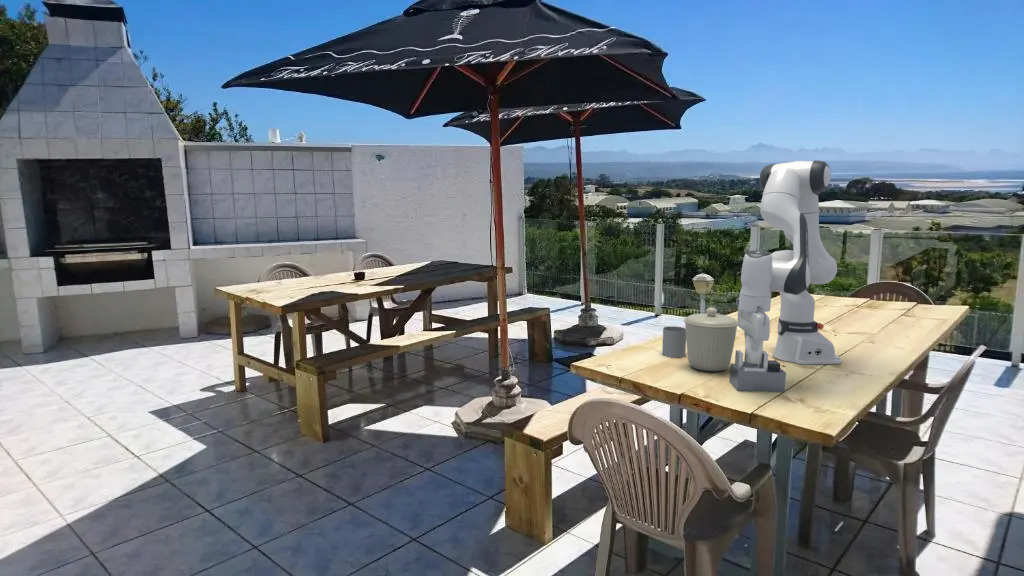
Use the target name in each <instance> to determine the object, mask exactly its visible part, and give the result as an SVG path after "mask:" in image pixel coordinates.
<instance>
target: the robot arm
mask: <svg viewBox="0 0 1024 576" xmlns="http://www.w3.org/2000/svg"><path fill="white" fill-rule="evenodd" d="M831 175H832V174H831V170H830V166H829V164H828V163H827V162H826V161H823V160H794V161H789V162H788V161H787V162H781V163H770V164H768V165H766V166H764V167H763V168H762V169H761V171H760V173H759V178H758V179H759V188H760V190H761V191H762V197H761V201H760V211H759V213H760V216H761V217H762V220H764V221H765V222H766V223H767V224H768V225H769V226H771V227H772V228H775V229H777V230H780V231H783V235H784V236H785V238H786V239H788V240H789V241H790V242H791V244H792V249H793V250H792V249H784V250H783V249H782V250H776V251H774V252H770V251H769V250H763V249H753V250H749V251H747V252H746V253H745V254H744V256H743V262H742V264H741V265H742V267H741V273H740V274H741V275H740V282H741V289H740V292H739V297H737V298H736V305H737V321H738V326H737V327H738V328H740V329H741V330H743V332H744V339H745V340H744V343H745V344H746V335H750V336H752V337H753V344H752V345H751V350H752V351H754V352H758V351H759V345H760V343H761V341H763V342H765V341H766V342H767V341H769V339H770V332H771V331H770V330H771V329H770V327H771V325H770V324H771V321H770V320H771V319H770V316H769V315H768V314H767V313H768V312H770V311H771V303H772V301H771V300H772V292H775V293H776V292H777V293H779V295H780V309H779V310H780V311H779V312H780V314H779V315H780V316H779V318H778V323H777V340H776V343H775V344H776V345H775V348H774V350H773V353H772V357H773V358H775V359H776V360H780V361H785V362H791V363H794V364H799V365H802V366H803V365H804V366H806V365H837V364H839V365H840V364H842V363H843V361H842V358H841V357H840V356H838V355H836V350H835V349H836V348H835V346H834V344H833V342H832V341H831V340H830V339H828V338H827V337H825V336H824V335H823V334H822V333H821V332H820V331H819V330H823V329H824V328H825V325H824V324H823V323H821V322H817V321H816V320H814V317H815V309H816V308H815V307H816V306H815V305H816V301H815V298H814V296H813V295H811V293H809V291H808V289H809V288H810V287H809V286H810V285H823V284H829V283H831V282H832V281H833V280H834V278H835V277H836V275H837V273H838V265H837V261H836V260H835V258H834V257H833V256H831V255H830V254H829V252H828V251H827V250H826V248H825V247H824V243H823V242H822V239H821V235H820V224H819V223H820V219H819V218H820V209H819V208H820V204H819V195H820V194H821V193H822V192H824V191H825V190H826V189H827V188H828V186H830V182H831V177H832V176H831ZM745 344H744V345H745Z"/></svg>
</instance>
